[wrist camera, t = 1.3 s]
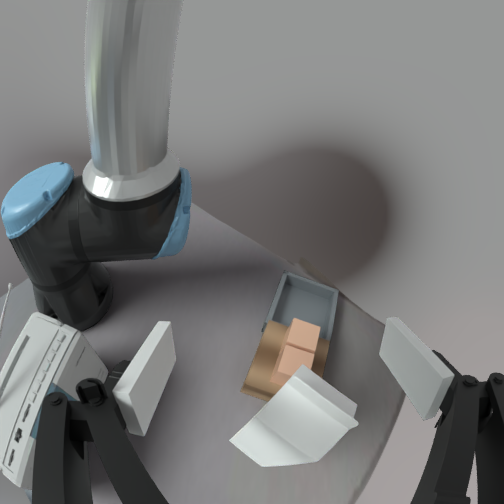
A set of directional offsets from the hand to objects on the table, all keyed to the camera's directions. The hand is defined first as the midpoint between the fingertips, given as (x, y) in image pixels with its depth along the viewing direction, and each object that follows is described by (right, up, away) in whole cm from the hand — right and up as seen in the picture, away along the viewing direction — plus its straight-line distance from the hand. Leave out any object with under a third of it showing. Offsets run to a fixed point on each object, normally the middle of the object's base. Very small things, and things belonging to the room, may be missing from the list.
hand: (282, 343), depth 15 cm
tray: (+7, -6, +32) cm, 33 cm away
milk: (-1, -20, +15) cm, 25 cm away
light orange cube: (+3, -11, +19) cm, 22 cm away
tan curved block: (+3, -13, +23) cm, 27 cm away
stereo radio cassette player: (-27, -18, +10) cm, 35 cm away
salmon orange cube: (+4, -8, +22) cm, 24 cm away
